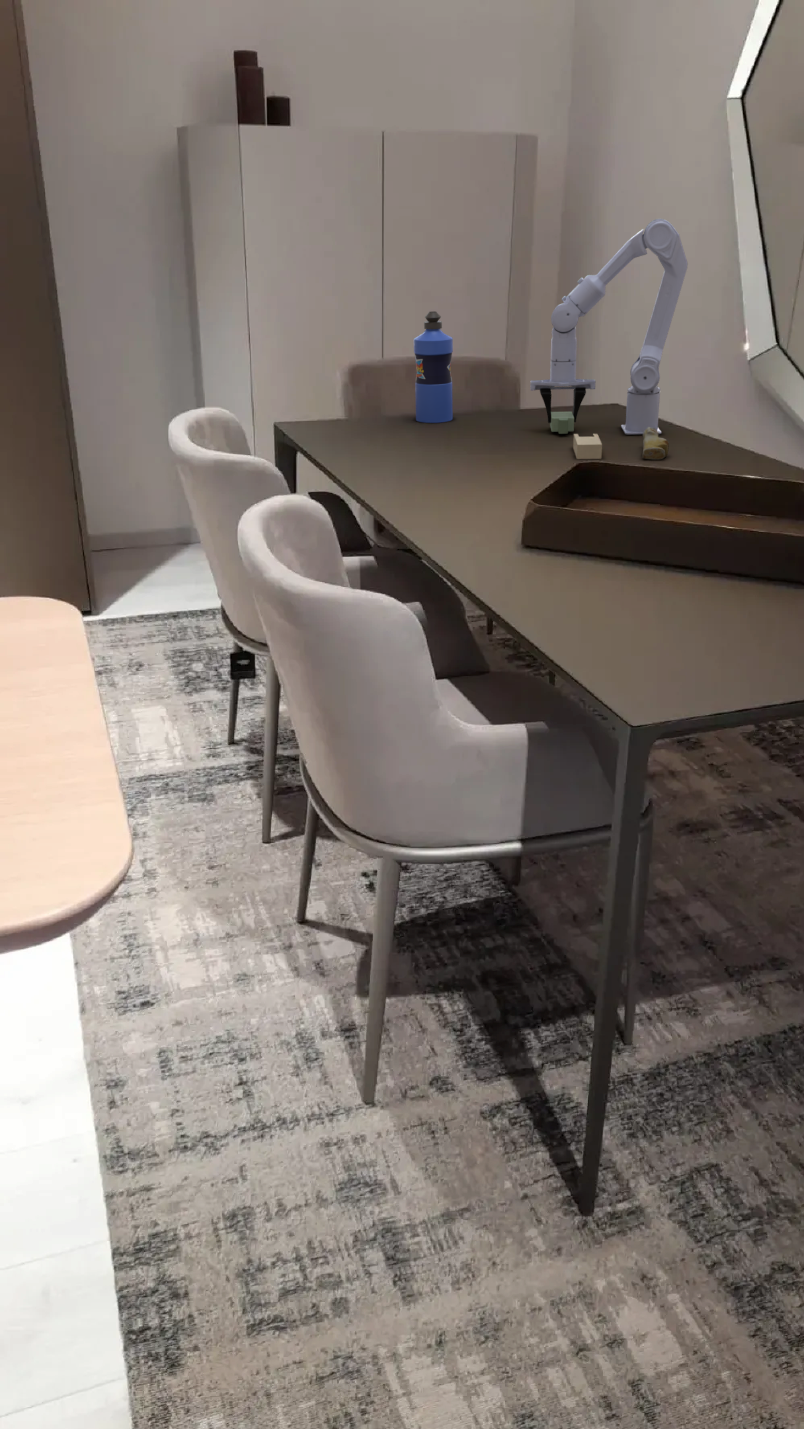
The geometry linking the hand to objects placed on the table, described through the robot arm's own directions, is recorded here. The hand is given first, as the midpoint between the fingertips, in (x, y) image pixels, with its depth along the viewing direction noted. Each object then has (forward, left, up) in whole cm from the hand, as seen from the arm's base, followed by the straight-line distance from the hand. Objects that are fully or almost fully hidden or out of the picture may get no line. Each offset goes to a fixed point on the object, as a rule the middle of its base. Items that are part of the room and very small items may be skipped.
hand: (561, 422), depth 253 cm
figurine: (+24, +18, -2) cm, 30 cm away
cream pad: (+24, +4, -2) cm, 25 cm away
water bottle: (-17, -30, -2) cm, 35 cm away
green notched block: (+1, 0, -1) cm, 2 cm away
